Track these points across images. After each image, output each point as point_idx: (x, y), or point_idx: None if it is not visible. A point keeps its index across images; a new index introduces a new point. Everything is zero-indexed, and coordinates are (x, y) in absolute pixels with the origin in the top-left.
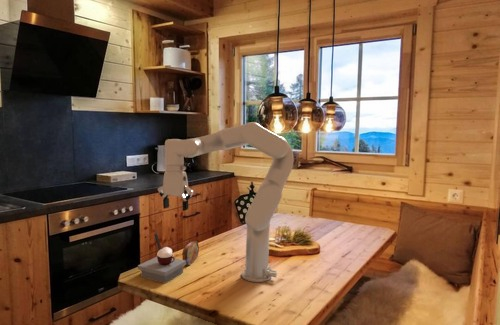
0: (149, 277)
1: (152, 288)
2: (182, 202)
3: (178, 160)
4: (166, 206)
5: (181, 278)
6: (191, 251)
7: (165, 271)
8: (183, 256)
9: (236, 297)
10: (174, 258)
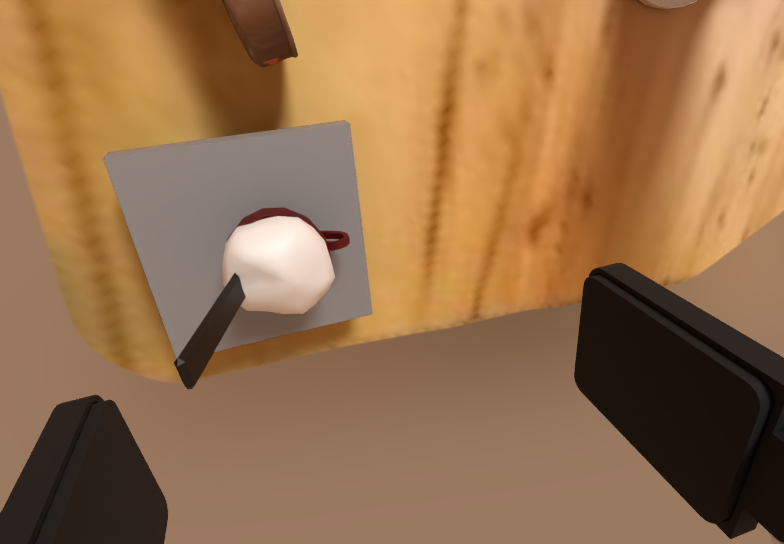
0: None
1: (338, 338)
2: (697, 510)
3: None
4: (142, 499)
5: (369, 191)
6: None
7: (364, 307)
8: (267, 63)
9: (646, 180)
10: (348, 236)
